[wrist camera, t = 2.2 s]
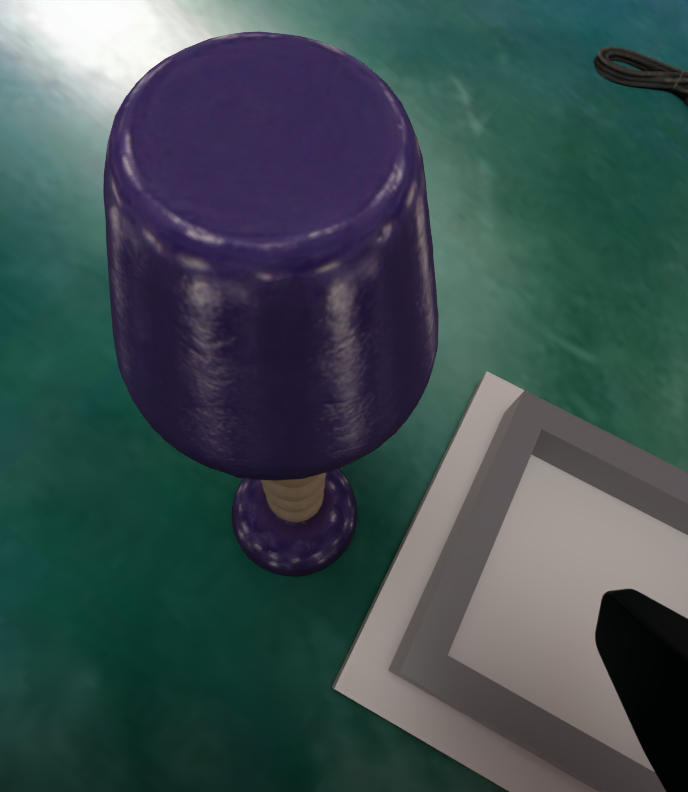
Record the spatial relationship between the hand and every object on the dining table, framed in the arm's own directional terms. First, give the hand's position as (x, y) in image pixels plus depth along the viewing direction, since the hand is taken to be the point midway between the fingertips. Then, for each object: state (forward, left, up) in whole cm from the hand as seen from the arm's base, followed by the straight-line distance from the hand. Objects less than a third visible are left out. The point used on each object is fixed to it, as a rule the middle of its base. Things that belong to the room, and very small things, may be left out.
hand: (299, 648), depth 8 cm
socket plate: (-8, -6, -12) cm, 15 cm away
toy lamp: (+2, -4, -12) cm, 13 cm away
